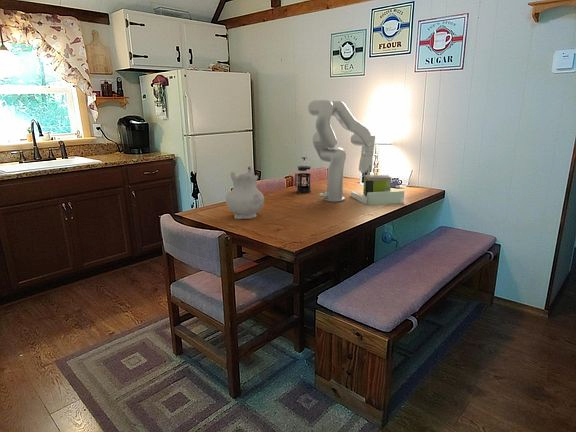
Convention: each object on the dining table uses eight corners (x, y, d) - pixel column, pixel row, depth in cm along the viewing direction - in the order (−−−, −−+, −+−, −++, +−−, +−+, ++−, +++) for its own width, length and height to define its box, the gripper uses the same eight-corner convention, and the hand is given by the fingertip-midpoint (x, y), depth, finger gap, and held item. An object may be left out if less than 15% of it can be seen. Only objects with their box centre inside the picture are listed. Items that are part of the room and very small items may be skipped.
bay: (367, 205, 221) (368, 193, 219) (350, 196, 243) (351, 185, 241) (403, 202, 227) (404, 191, 225) (383, 194, 249) (384, 183, 247)
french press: (314, 191, 256) (315, 157, 250) (307, 194, 248) (307, 158, 242) (299, 189, 262) (299, 155, 256) (291, 192, 255) (292, 157, 248)
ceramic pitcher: (232, 212, 210) (227, 167, 203) (267, 209, 209) (263, 164, 202) (225, 223, 190) (218, 174, 183) (264, 221, 189) (259, 171, 182)
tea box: (387, 198, 238) (388, 174, 234) (389, 201, 229) (391, 177, 225) (362, 197, 240) (364, 174, 235) (364, 201, 230) (365, 177, 226)
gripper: (356, 152, 247) (353, 180, 252) (367, 155, 233) (364, 184, 238) (367, 153, 249) (364, 181, 254) (378, 155, 235) (374, 184, 240)
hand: (364, 182), depth 246 cm, fingers closed
